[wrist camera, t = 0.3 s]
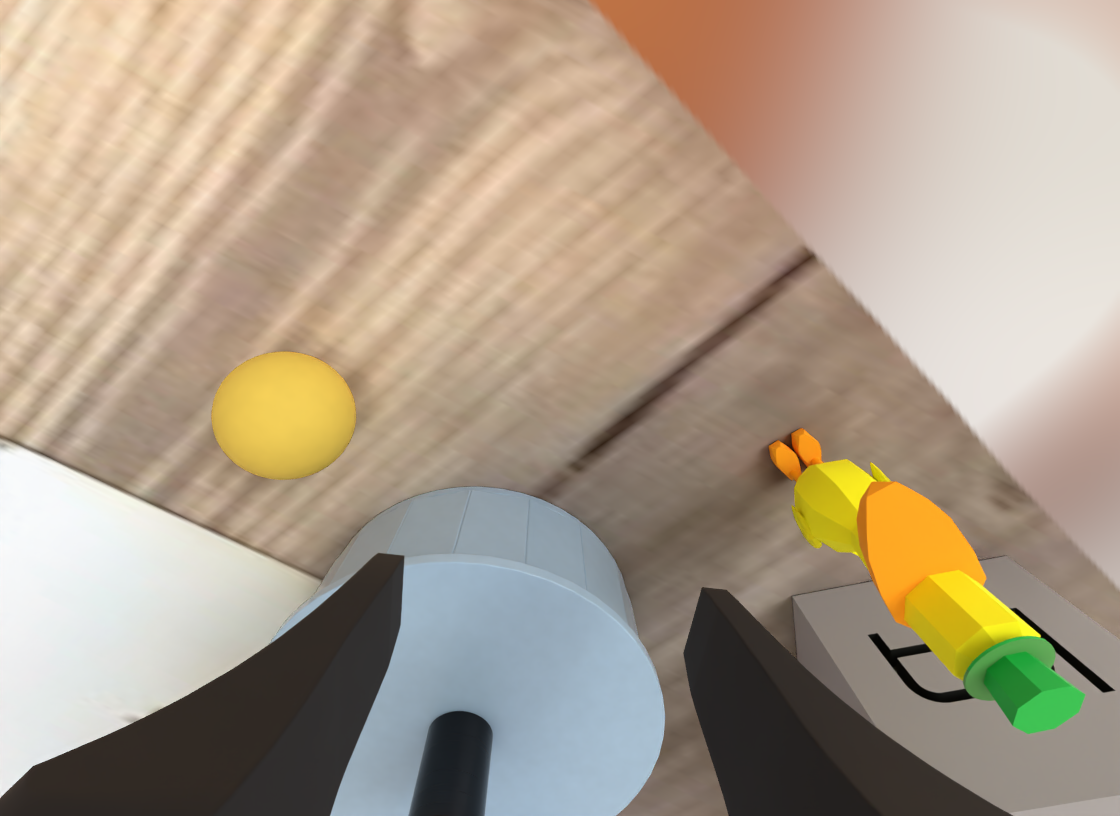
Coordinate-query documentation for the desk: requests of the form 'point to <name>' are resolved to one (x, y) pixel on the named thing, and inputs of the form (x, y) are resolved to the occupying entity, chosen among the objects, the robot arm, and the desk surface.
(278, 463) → the ball
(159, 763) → the robot arm
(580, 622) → the lid
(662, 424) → the desk surface
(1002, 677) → the toy figure
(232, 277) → the desk surface
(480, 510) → the pot
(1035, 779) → the icon cube
